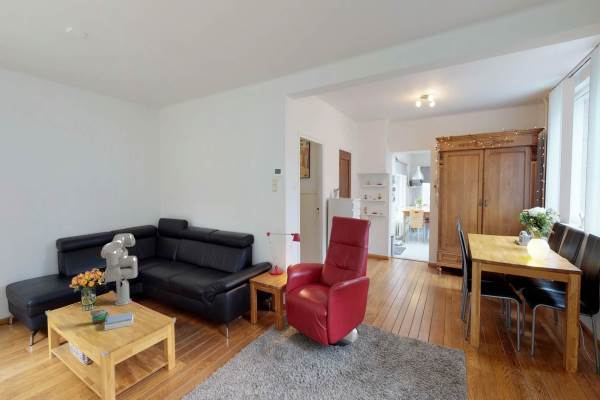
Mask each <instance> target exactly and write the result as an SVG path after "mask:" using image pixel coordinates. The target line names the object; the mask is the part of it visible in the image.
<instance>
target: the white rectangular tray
mask: <svg viewBox="0 0 600 400" xmlns="http://www.w3.org/2000/svg"><path fill="white" fill-rule="evenodd" d="M133 322H134V315H133V316H132V319H131V320H126V321H121V322H116V323H111V324H106V325H105V324H104V332H105V331H110V330H117V329H121V328H126V327H132V326H133Z"/></svg>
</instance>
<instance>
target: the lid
mask: <svg viewBox="0 0 600 400" xmlns="http://www.w3.org/2000/svg"><path fill="white" fill-rule="evenodd" d="M132 316H133V317H134V311H130V312H126V313H125V312H124V313H120V314H115V315H114V314H113V315H110V314H108V315H107V317H106V319H105V322H104V326H105V325H106V324H111V323H116V322H121V321H126V320H131V319H132Z"/></svg>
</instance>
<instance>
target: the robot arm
mask: <svg viewBox="0 0 600 400" xmlns="http://www.w3.org/2000/svg"><path fill="white" fill-rule="evenodd" d="M135 245H136V239H135V237H134V234H132V233H130V232H129V233H127V232H126V233H118V234H115V235H114V236H113V239H112V241H111V242H108V243H106V244H105V245H104V246H103V247H102V249H101V251H100V256H101V258H102V259H106V268H105V271H104V276H103V277H100V278H99V281H100V283H101V284H103V288H104V290H107V289H108V283H109V282H116V283H115V285H116V301H115V302H114V303H115V306H126V305H128V304H130V303H131V302H132V298H130V283H129V281H128V280H129V279H135V278H137V277H138V257H137V256H136V255H129V250H128V249H127V248H126V247H129V248H130V247H134V246H135ZM128 267H129V268H128Z"/></svg>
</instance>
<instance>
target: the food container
mask: <svg viewBox="0 0 600 400" xmlns="http://www.w3.org/2000/svg"><path fill="white" fill-rule="evenodd" d="M108 313H109V308H106V309H98V310H92V309H91V311H90V316H91V321H92V324H93V325H95V326H97V325H103V324H105V319H106V317H107V315H109V314H108Z"/></svg>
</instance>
